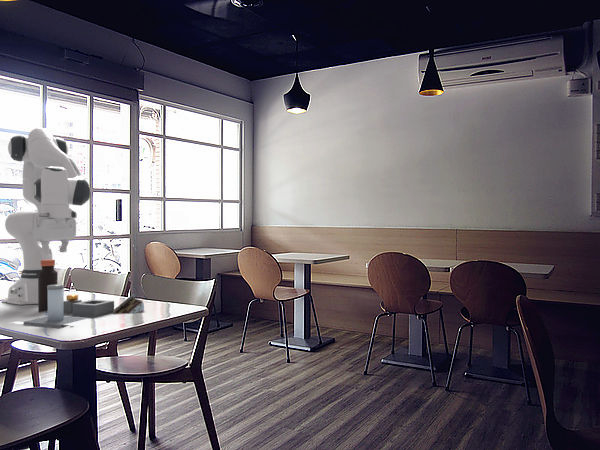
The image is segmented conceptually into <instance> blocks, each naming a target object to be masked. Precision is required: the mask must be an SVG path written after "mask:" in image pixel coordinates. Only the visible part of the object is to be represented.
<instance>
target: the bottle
mask: <svg viewBox="0 0 600 450" xmlns="http://www.w3.org/2000/svg"><path fill="white" fill-rule="evenodd" d="M55 266H56V260H55V259H52V260H41V267H42V270H41V271H40V272H39V273H38V304H37V306H38V307H37V311H38V312H39V313H44V312H48V289H47V286H48V285H59V283H58V271H57V270H55Z"/></svg>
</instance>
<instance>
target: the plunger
mask: <svg viewBox="0 0 600 450" xmlns="http://www.w3.org/2000/svg"><path fill="white" fill-rule="evenodd" d="M67 300H70V302H73V301H75V300H79V295H78V294H69V295H67V294H66V301H67Z"/></svg>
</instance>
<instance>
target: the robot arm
mask: <svg viewBox="0 0 600 450" xmlns="http://www.w3.org/2000/svg"><path fill="white" fill-rule="evenodd" d="M7 145H8V146H7V151H8V154H9V155H10V158H11V159H12V160H13V161H16V162H20V163H22V162H23V165H22V196H23V198H24V199H25V200H26V201H27V202H29V203H31V204H32V205H34V206H35V207H36V209H37V211H18V212H12V213H10V214H8V216H7V217H6V219H5V222H4V227H5V230H6V232H7V234H9V235H10V236H12V238H14V239H15V240H16V241H17V242H18V244H19V246H20V247H21V249H22V257H23V269H22V270H19V271H18V272H19V273H18V274H19V275H20V274H21V275H20V278H19V279H17V281H16V282H15V283H14V284H12V285H11V286H10V287H9V288H8V293H7V297H6V298H3V299H1V302H2V303H6V302H7V303H6V304H13V305H32V304H33V305H36V304H37V305H38V273H39V272H40V271H41V270H42V267H41V260H53V251H52V249H51V247H50V246H49V245H50V241H51V242H52V241H60V242H61V245H60V247H59V253H67V250H68V248H67V247H68V245H69V243H70V240H72V239H75V238H76V235H77V222H76V221H77V220H76V219H77V216H78V214H77V212H76V211H74V210H73V209H72V208H70V205H72V206H80V207H81V206H83V205H84V204H85V203H87V202H88V201H90V197H91V188H90V184H89V183H88V181H87V180H86V179H85V178H84V177H83V175H82V173H81V172H80V170H79V168H78V167H77V164H76V163H75V161H74V159H73V158H72V157H71V156H69V155H68V153H69V150H68V149H69V148H68V145H67V142H66V141H65V139H63V138H60V137H55V136H54V135H53V133H52V132H51V131H50V130H48V129H47V128H43V127H38V128H37V127H36V128H34V129H32V130H30V132H29V133H28V135H15V136H12V137H11V138H10V140H9V141H8V144H7Z"/></svg>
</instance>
